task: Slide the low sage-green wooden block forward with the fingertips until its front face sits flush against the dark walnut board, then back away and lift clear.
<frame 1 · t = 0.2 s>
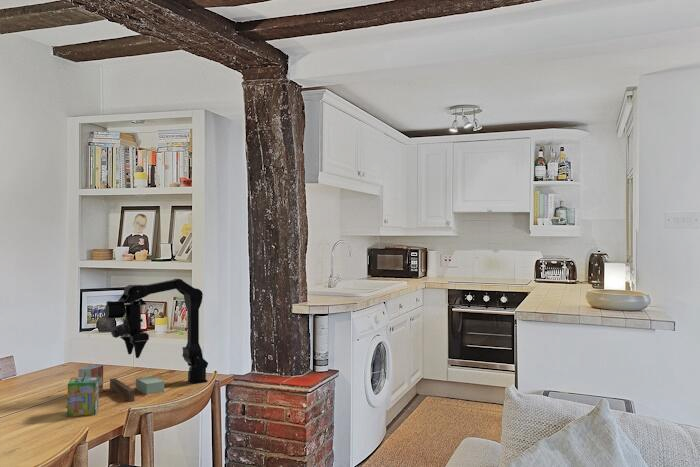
hand: (133, 356, 233), 14 cm above the table, fingers open, 9 cm apart
sage block: (149, 391, 235), on the table
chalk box: (83, 413, 205), on the table
walnut board: (121, 394, 229), on the table
small box: (90, 394, 230), on the table
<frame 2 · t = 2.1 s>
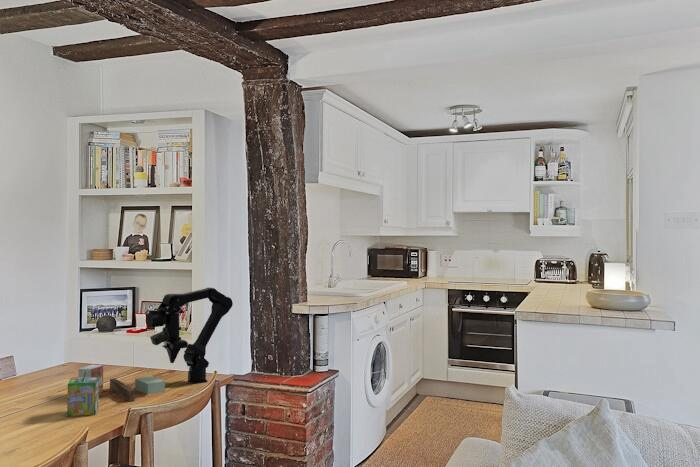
hand: (172, 363, 241), 10 cm above the table, fingers closed
nothing on the table moved.
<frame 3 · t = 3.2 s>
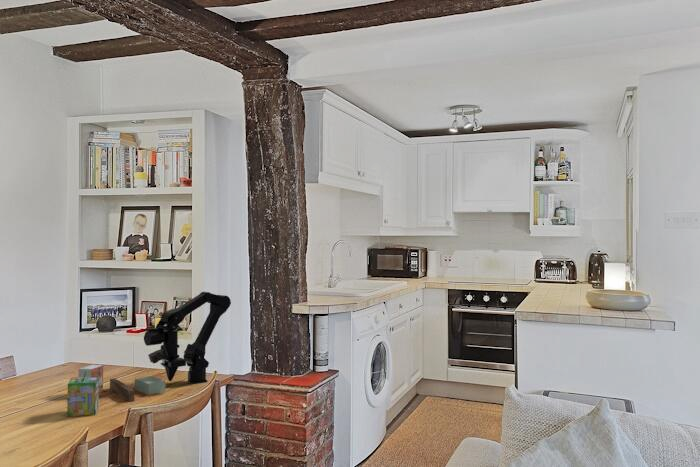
hand: (170, 380, 241), 3 cm above the table, fingers closed
nothing on the table moved.
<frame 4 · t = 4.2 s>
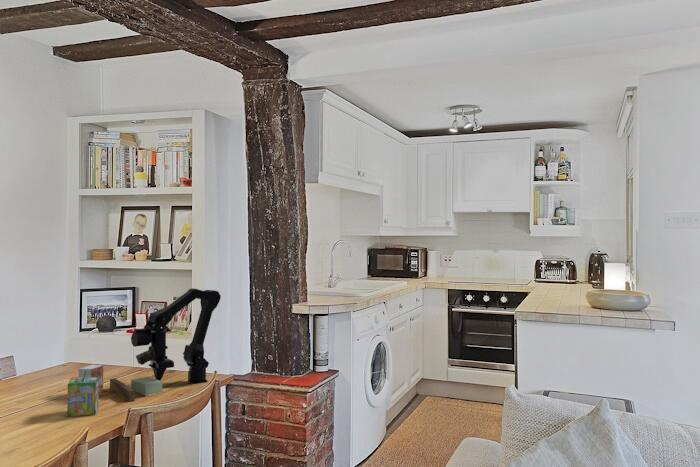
hand: (158, 382, 237), 3 cm above the table, fingers closed
sage block: (146, 391, 235), on the table
everything else where it was.
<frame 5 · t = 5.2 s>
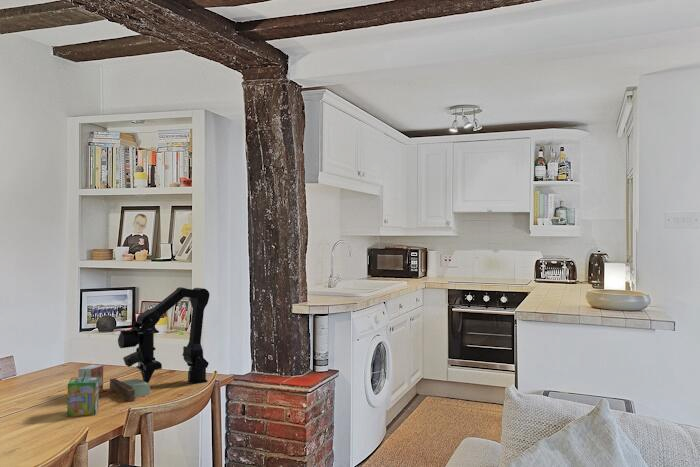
hand: (146, 384, 234), 3 cm above the table, fingers closed, pressing on sage block
sage block: (135, 394, 231), on the table, touching gripper
everything else where it was.
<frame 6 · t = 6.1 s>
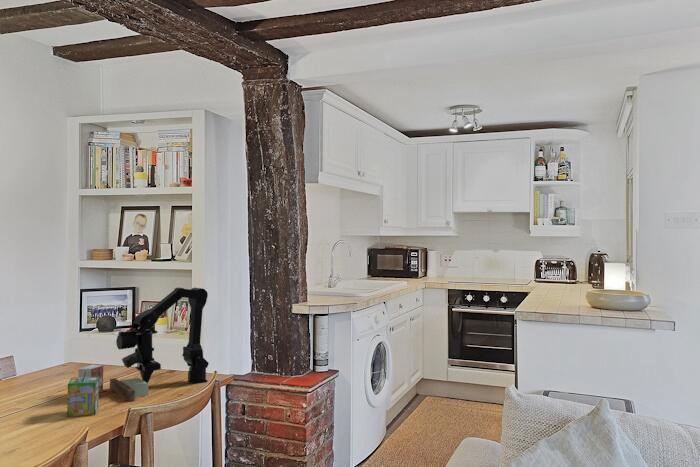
hand: (145, 384, 234), 2 cm above the table, fingers closed, pressing on sage block
sage block: (134, 393, 231), on the table, touching gripper, walnut board
everything else where it was.
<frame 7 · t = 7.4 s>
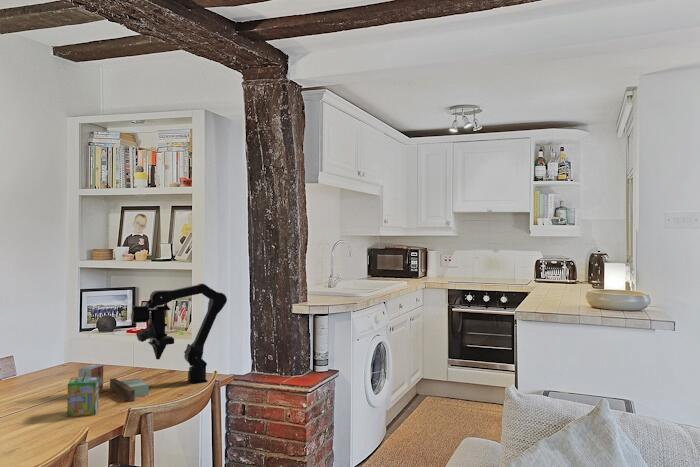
hand: (157, 359, 242), 11 cm above the table, fingers closed
sage block: (134, 394, 231), on the table
everything else where it was.
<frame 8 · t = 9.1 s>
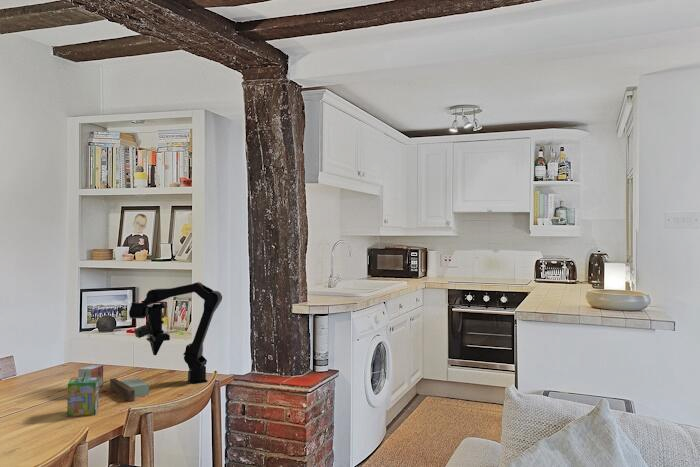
hand: (154, 355, 251), 11 cm above the table, fingers closed
nothing on the table moved.
at the end: sage block 0.8 cm from the target spot on the table beside the walnut board, on the table; sage block tilted 0°; sage block moved 6.4 cm from its start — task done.
